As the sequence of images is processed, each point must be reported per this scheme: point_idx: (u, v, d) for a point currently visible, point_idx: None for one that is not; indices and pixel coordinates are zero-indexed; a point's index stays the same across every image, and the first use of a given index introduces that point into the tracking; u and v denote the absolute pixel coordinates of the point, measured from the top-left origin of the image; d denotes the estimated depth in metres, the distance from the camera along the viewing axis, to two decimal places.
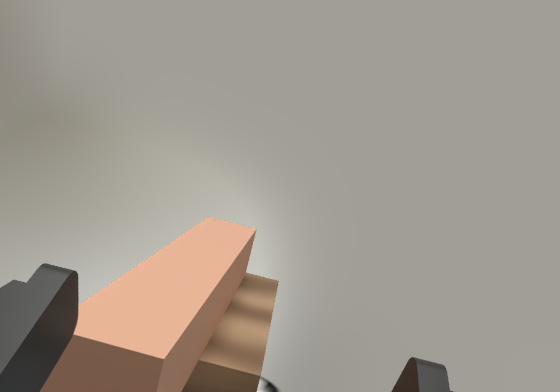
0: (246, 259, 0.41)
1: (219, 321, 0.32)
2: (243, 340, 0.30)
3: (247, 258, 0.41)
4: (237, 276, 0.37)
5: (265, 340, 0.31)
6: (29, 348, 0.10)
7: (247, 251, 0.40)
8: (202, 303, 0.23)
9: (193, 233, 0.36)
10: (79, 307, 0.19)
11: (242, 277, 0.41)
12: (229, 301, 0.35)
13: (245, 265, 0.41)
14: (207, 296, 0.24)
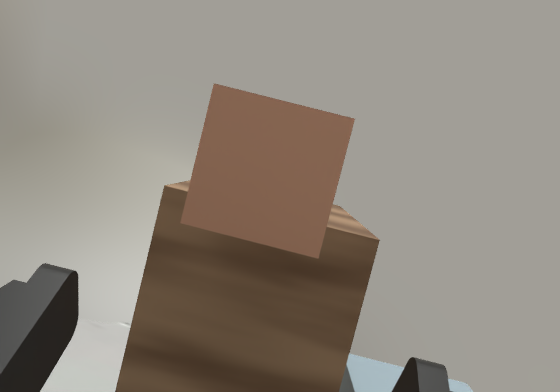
0: None
1: None
2: (342, 223, 0.28)
3: None
4: None
5: (362, 226, 0.29)
6: (29, 347, 0.10)
7: None
8: None
9: None
10: None
11: None
12: None
13: None
14: None
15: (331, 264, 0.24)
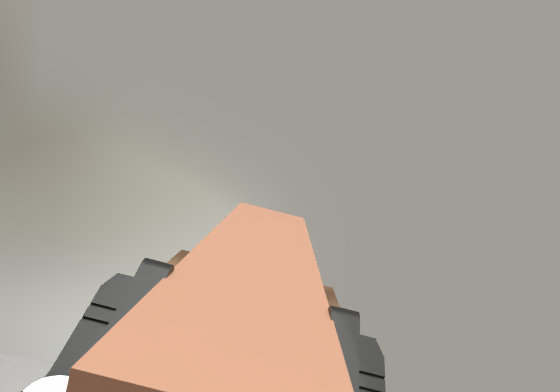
0: None
1: None
2: None
3: None
4: None
5: None
6: None
7: None
8: (328, 311, 0.13)
9: (237, 217, 0.26)
10: (128, 319, 0.09)
11: None
12: None
13: None
14: (325, 299, 0.14)
15: None
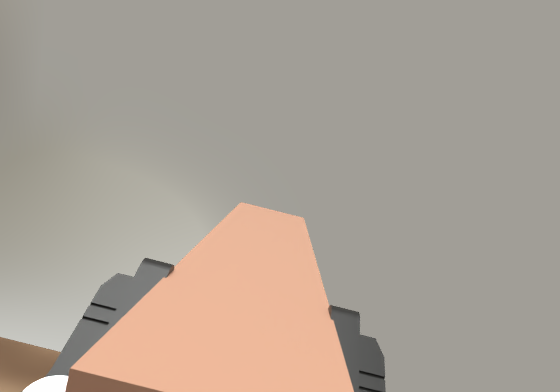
0: None
1: None
2: None
3: None
4: None
5: None
6: None
7: None
8: (328, 311, 0.13)
9: (237, 217, 0.26)
10: (128, 320, 0.09)
11: None
12: None
13: None
14: (325, 299, 0.14)
15: None
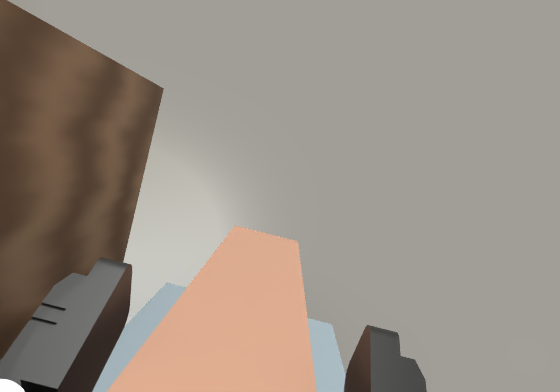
0: None
1: None
2: None
3: None
4: None
5: None
6: (94, 337, 0.11)
7: None
8: (312, 371, 0.13)
9: (229, 247, 0.26)
10: None
11: None
12: None
13: None
14: (310, 355, 0.14)
15: None
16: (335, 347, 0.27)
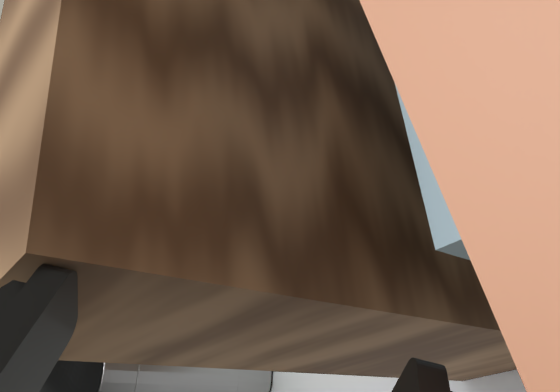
0: None
1: None
2: (28, 136, 0.14)
3: None
4: None
5: (48, 84, 0.14)
6: (29, 348, 0.10)
7: None
8: None
9: None
10: None
11: None
12: None
13: None
14: None
15: None
16: None
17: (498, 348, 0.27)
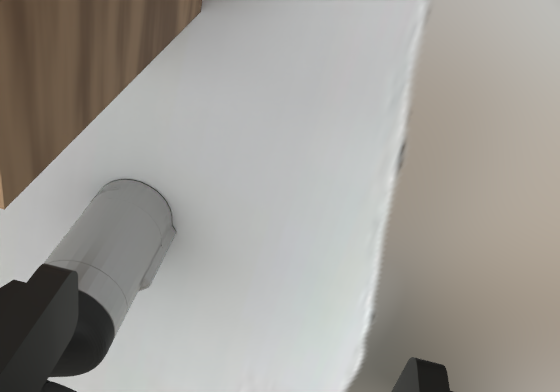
0: None
1: None
2: None
3: None
4: None
5: None
6: (29, 348, 0.10)
7: None
8: None
9: None
10: None
11: None
12: None
13: None
14: None
15: (10, 4, 0.19)
16: None
17: None
